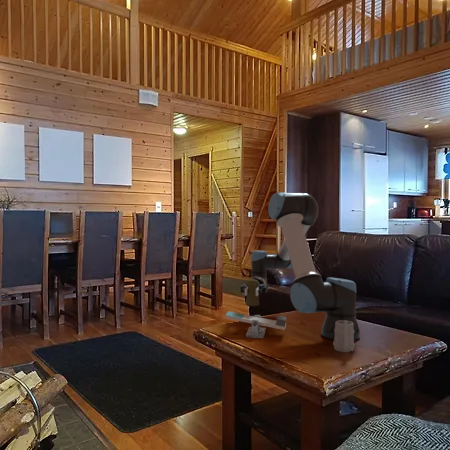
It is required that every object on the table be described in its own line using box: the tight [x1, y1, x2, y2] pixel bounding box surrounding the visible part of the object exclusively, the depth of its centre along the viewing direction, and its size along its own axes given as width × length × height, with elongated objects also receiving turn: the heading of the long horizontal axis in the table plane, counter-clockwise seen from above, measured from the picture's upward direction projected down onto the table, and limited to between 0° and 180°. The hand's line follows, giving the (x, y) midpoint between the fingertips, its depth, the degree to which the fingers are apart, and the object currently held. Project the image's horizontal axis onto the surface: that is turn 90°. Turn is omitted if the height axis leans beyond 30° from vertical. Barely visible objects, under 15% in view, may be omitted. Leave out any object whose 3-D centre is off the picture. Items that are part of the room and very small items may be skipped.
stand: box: [245, 314, 267, 339], centre depth 174 cm, size 7×12×7 cm, turn 170°
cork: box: [245, 278, 260, 307], centre depth 186 cm, size 6×6×11 cm
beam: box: [225, 311, 287, 331], centre depth 174 cm, size 24×7×4 cm, turn 80°
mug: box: [332, 320, 356, 353], centre depth 153 cm, size 8×12×12 cm, turn 169°
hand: (251, 292), depth 181 cm, fingers closed on cork, 4 cm apart
